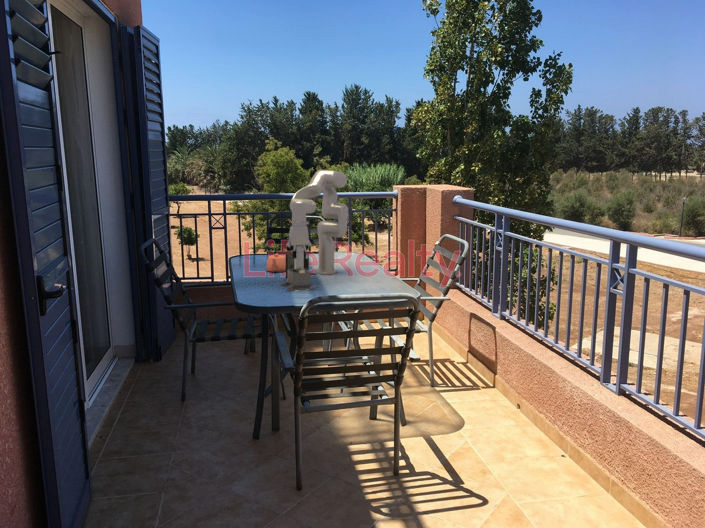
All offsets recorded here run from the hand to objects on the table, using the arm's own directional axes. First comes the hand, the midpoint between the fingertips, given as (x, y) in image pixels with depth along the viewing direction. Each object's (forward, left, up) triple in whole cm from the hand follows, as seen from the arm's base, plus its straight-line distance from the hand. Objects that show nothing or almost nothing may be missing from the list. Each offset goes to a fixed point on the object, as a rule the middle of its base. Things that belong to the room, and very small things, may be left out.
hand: (298, 257), depth 303 cm
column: (0, 0, -10) cm, 10 cm away
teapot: (-41, -2, -17) cm, 44 cm away
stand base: (0, 0, -16) cm, 16 cm away
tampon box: (-20, +5, -16) cm, 26 cm away
